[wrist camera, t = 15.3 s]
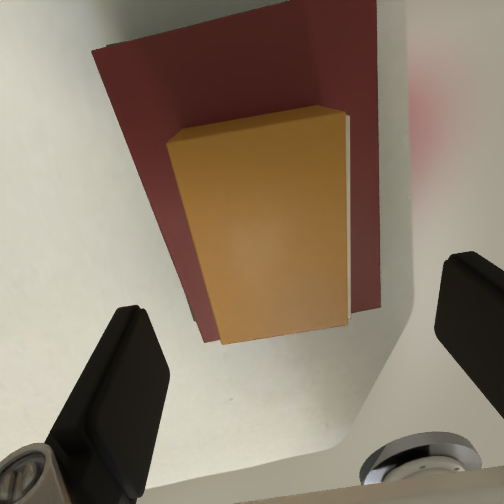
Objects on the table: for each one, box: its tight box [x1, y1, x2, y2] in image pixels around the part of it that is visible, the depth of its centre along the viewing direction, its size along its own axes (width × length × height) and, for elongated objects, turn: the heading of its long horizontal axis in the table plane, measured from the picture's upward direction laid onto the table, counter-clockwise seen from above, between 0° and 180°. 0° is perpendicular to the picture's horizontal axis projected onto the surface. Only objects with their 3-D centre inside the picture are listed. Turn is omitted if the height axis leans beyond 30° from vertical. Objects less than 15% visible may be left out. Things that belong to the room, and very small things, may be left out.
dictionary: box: [166, 105, 351, 345], centre depth 15 cm, size 10×7×4 cm
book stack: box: [91, 0, 381, 343], centre depth 20 cm, size 18×13×6 cm
